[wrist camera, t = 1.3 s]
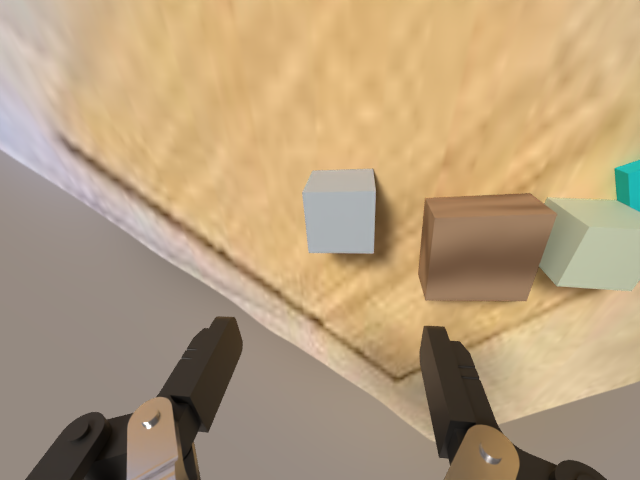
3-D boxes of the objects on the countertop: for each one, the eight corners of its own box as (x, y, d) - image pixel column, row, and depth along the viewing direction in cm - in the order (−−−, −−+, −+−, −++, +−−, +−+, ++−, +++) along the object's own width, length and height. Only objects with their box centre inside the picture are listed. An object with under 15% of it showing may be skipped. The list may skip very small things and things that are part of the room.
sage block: (615, 199, 22) (546, 197, 23) (675, 230, 18) (589, 226, 19) (585, 252, 25) (523, 249, 25) (631, 291, 21) (556, 286, 21)
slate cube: (312, 170, 24) (302, 192, 20) (373, 168, 23) (375, 191, 19) (316, 223, 27) (308, 252, 22) (371, 222, 26) (373, 253, 22)
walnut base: (424, 196, 24) (434, 218, 21) (528, 192, 23) (557, 213, 20) (417, 272, 28) (425, 300, 25) (505, 271, 27) (526, 301, 24)
